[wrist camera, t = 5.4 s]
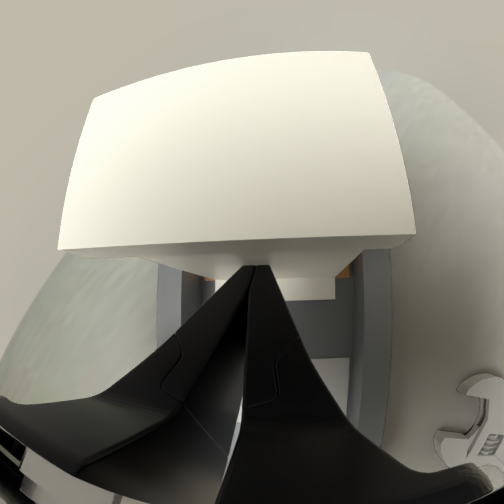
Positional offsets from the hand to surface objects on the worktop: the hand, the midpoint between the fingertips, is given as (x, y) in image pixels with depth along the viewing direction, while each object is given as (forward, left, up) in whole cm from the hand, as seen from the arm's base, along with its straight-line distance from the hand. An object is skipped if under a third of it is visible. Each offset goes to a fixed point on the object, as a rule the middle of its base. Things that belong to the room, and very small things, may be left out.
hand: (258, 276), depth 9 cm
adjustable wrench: (0, -25, -7) cm, 26 cm away
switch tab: (+1, +1, -5) cm, 5 cm away
